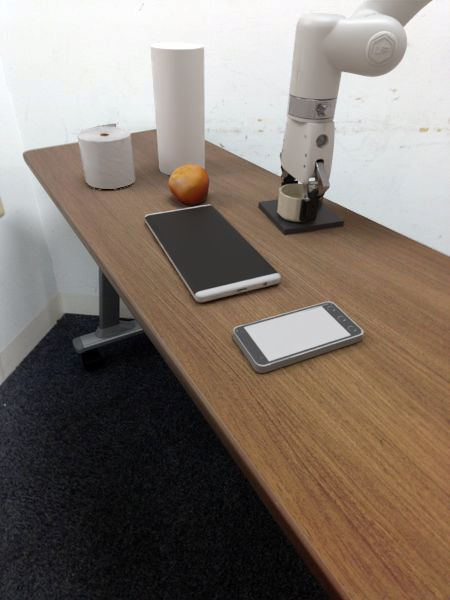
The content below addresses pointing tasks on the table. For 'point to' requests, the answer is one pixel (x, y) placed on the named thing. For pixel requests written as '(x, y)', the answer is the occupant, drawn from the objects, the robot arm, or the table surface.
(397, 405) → the table surface
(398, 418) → the table surface
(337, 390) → the table surface
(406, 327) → the table surface
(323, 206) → the scale
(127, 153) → the toilet tissue
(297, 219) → the bowl
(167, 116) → the tall pillar cylinder
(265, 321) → the smartphone
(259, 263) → the tablet
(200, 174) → the fruit
